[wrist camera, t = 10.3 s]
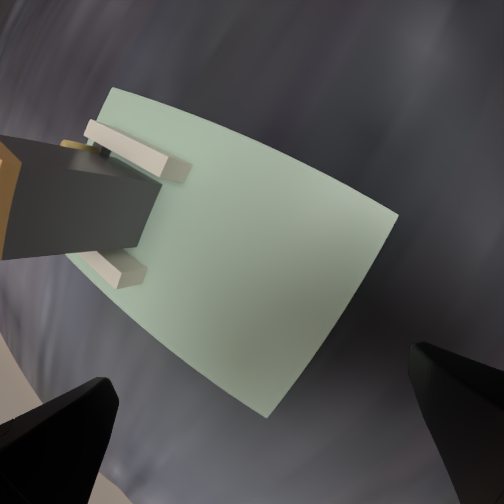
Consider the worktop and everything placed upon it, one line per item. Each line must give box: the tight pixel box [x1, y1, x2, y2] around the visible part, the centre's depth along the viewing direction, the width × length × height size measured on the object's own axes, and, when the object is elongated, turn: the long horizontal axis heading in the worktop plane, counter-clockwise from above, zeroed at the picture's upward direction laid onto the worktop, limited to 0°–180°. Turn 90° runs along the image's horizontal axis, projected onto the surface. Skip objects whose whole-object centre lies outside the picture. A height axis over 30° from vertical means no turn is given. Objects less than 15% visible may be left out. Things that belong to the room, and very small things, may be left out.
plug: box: [0, 135, 163, 261], centre depth 15 cm, size 5×4×11 cm
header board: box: [60, 87, 399, 418], centre depth 17 cm, size 22×14×5 cm, turn 61°
